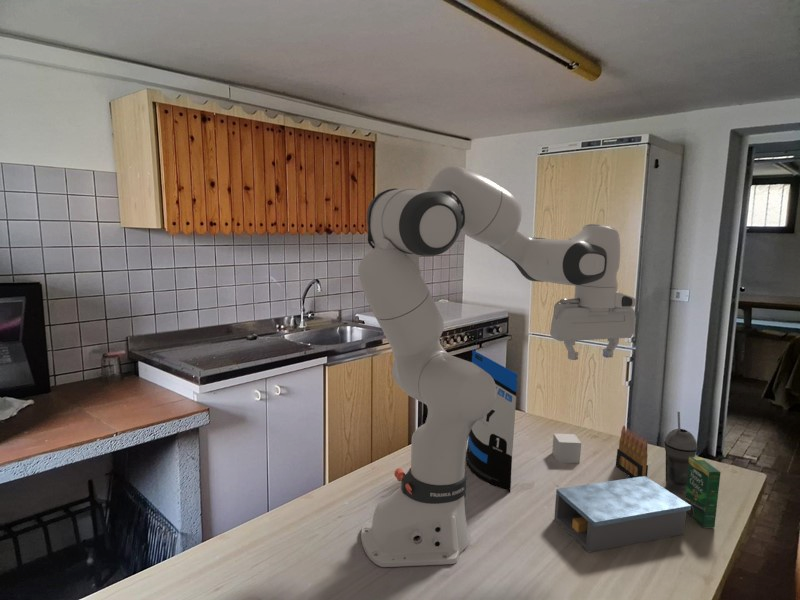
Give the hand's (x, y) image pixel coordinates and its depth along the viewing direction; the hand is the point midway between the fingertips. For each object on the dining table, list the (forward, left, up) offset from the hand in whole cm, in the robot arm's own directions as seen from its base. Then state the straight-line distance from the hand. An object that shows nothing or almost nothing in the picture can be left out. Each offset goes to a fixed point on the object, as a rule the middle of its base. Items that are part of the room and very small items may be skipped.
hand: (590, 358), depth 116 cm
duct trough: (+2, -11, -35) cm, 37 cm away
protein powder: (-14, +20, -35) cm, 43 cm away
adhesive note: (+11, +21, -35) cm, 43 cm away
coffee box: (+22, -13, -35) cm, 44 cm away
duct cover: (+2, -11, -29) cm, 31 cm away
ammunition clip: (+22, +8, -35) cm, 42 cm away
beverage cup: (+28, -1, -35) cm, 45 cm away
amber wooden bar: (+2, -11, -35) cm, 37 cm away
